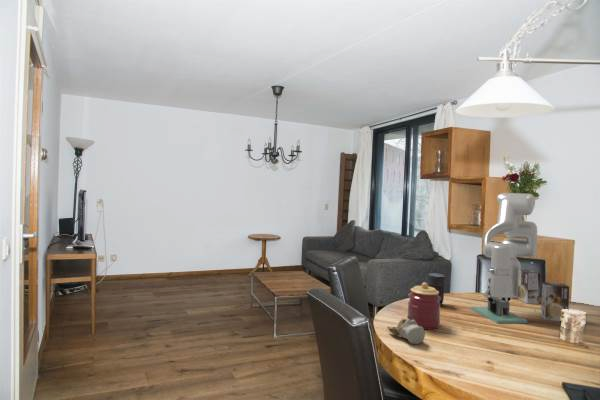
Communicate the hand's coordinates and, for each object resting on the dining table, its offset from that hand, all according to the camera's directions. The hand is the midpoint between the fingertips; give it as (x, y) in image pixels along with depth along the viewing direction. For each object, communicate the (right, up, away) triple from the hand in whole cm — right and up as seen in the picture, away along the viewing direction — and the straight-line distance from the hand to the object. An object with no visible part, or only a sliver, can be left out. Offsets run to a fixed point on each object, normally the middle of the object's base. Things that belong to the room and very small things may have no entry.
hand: (498, 311), depth 175 cm
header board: (0, -2, 0) cm, 2 cm away
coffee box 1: (+30, -3, +27) cm, 40 cm away
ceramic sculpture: (-50, -1, -33) cm, 60 cm away
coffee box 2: (+24, -3, -2) cm, 25 cm away
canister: (-40, -1, -16) cm, 43 cm away
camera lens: (-24, -1, +14) cm, 28 cm away
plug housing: (0, -1, 0) cm, 1 cm away
